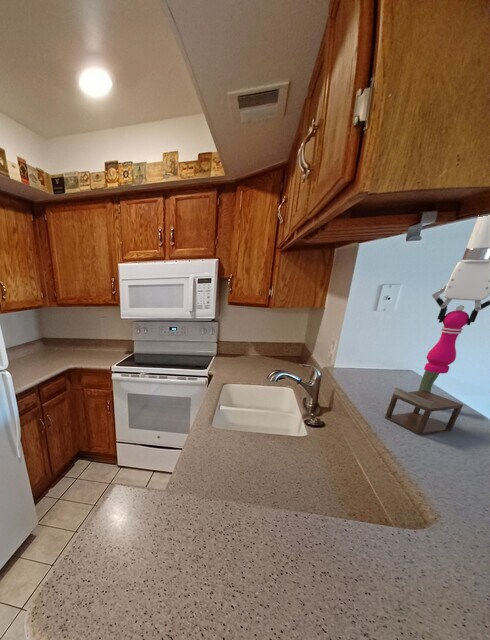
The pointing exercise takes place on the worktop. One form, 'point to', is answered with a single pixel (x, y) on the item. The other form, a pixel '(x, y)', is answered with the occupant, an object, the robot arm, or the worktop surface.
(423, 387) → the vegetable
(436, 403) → the shelf
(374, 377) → the worktop surface
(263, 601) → the worktop surface
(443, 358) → the pepper mill
